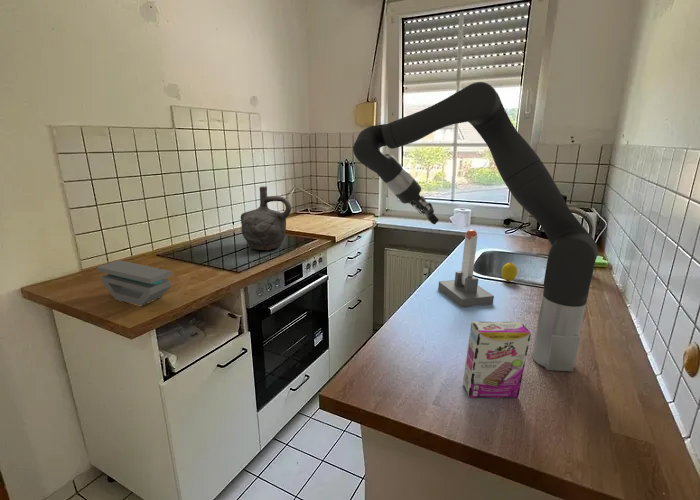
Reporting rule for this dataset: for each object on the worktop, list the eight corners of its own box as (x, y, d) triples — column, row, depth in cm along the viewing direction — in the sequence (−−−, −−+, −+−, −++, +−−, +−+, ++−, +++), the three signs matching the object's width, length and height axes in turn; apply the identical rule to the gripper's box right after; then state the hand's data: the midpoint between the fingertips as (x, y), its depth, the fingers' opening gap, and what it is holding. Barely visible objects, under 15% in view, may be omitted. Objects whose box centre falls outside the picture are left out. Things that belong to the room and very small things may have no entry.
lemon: (516, 285, 143) (519, 265, 140) (501, 283, 144) (504, 264, 142) (513, 279, 148) (516, 260, 146) (499, 278, 149) (501, 259, 147)
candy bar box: (469, 399, 81) (478, 332, 76) (462, 384, 85) (469, 320, 80) (520, 399, 81) (532, 332, 76) (510, 384, 86) (520, 320, 81)
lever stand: (492, 304, 126) (495, 282, 124) (461, 307, 123) (464, 285, 121) (466, 286, 141) (469, 266, 139) (438, 288, 138) (440, 268, 136)
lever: (473, 287, 130) (480, 230, 124) (464, 288, 129) (470, 231, 123) (466, 283, 133) (473, 228, 127) (457, 284, 132) (464, 228, 126)
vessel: (292, 241, 196) (290, 183, 187) (292, 253, 176) (290, 190, 167) (245, 242, 193) (241, 183, 184) (239, 255, 172) (234, 190, 163)
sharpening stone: (103, 296, 128) (97, 266, 124) (124, 288, 134) (119, 260, 131) (155, 311, 118) (150, 279, 115) (175, 301, 125) (171, 271, 122)
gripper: (420, 178, 107) (454, 218, 114) (402, 173, 120) (434, 209, 126) (402, 197, 108) (437, 235, 114) (386, 190, 120) (418, 225, 127)
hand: (435, 222), depth 120 cm, fingers closed
